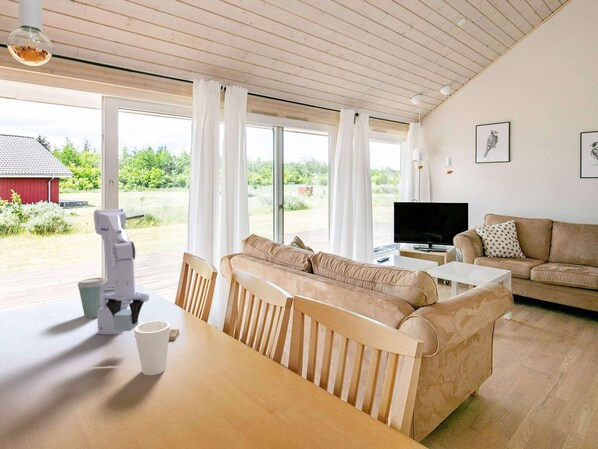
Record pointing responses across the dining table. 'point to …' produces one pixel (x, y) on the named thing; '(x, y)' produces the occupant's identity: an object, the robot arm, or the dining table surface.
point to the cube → (124, 321)
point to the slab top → (173, 334)
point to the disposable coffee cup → (91, 295)
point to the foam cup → (152, 346)
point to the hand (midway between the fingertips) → (126, 322)
